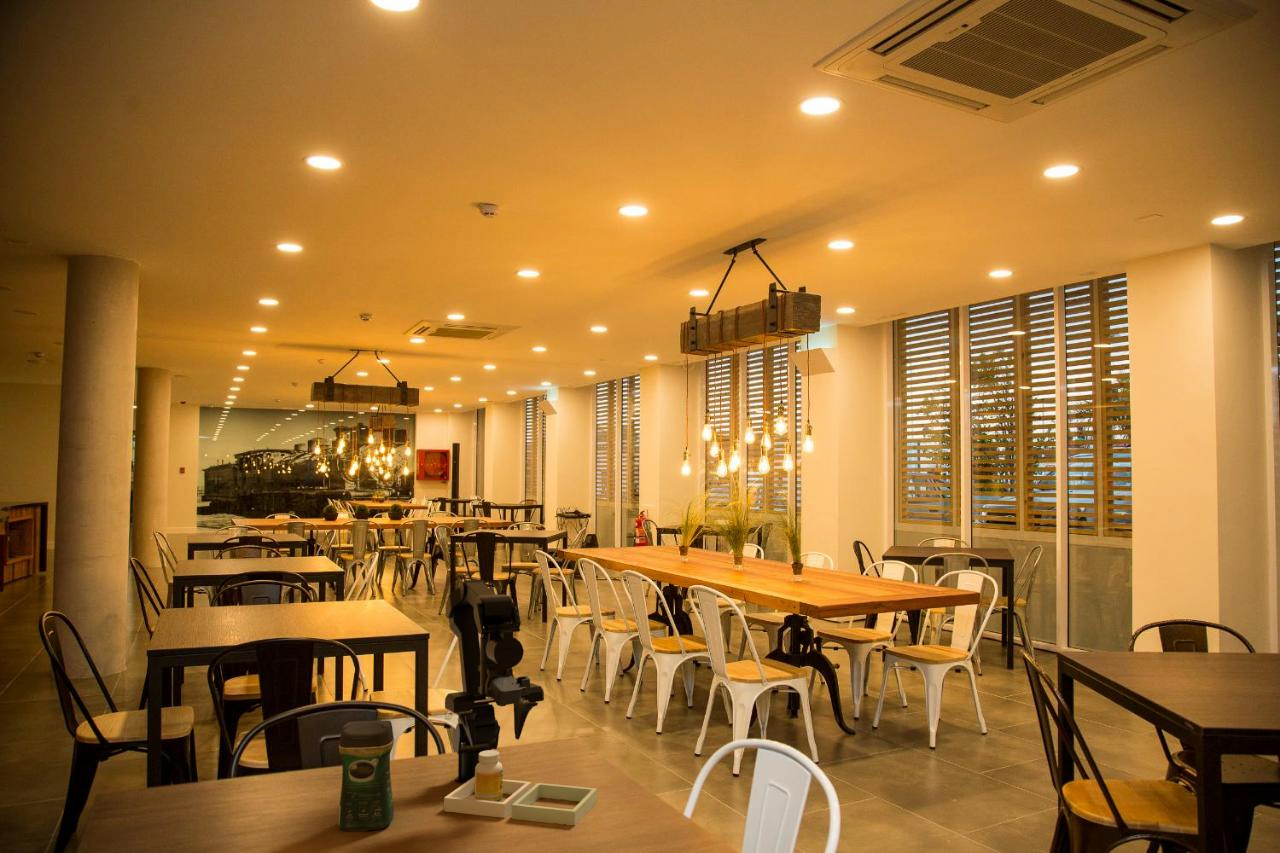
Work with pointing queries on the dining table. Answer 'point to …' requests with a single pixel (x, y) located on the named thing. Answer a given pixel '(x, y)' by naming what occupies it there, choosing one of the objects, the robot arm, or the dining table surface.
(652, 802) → the dining table surface
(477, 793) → the supplement bottle
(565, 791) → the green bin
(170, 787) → the dining table surface
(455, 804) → the white bin
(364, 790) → the coffee jar
